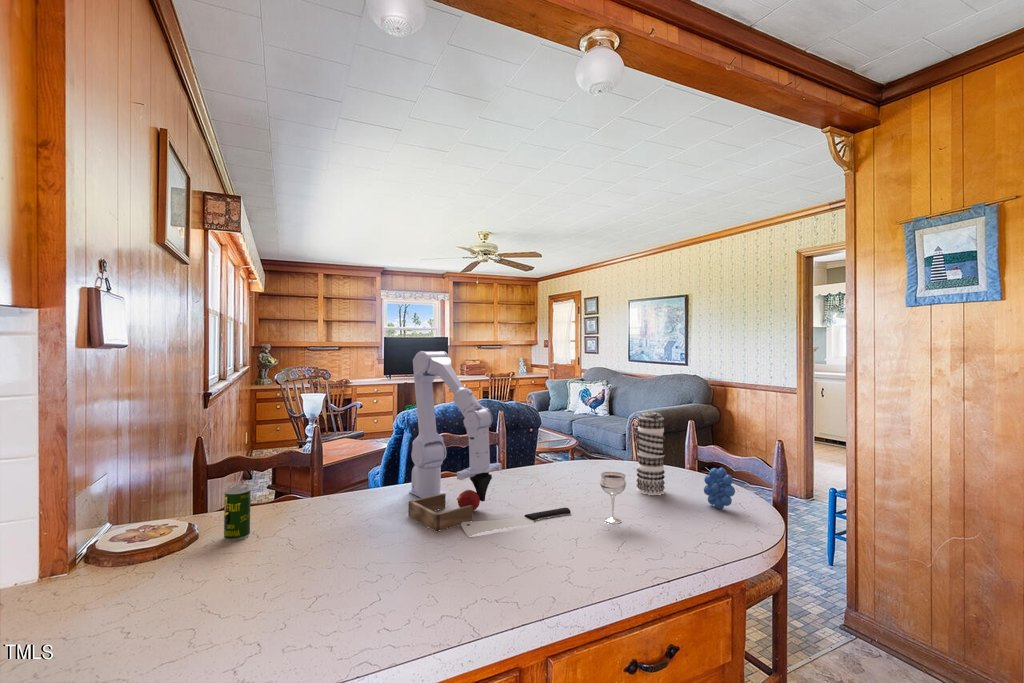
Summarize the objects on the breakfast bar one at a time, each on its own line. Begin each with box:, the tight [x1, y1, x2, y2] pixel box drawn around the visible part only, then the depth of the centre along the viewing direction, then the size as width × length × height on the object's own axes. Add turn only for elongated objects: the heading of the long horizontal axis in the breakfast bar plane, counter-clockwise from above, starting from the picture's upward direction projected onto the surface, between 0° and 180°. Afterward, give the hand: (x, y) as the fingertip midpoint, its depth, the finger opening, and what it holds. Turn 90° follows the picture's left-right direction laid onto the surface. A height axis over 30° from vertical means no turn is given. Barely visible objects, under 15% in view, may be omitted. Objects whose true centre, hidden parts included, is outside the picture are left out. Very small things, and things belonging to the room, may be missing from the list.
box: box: [407, 493, 474, 532], centre depth 125 cm, size 14×11×4 cm
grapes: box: [703, 467, 736, 510], centre depth 135 cm, size 12×7×12 cm, turn 16°
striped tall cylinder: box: [635, 411, 667, 496], centre depth 151 cm, size 9×9×25 cm
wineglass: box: [599, 471, 627, 523], centre depth 125 cm, size 7×7×12 cm
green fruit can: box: [223, 483, 252, 542], centre depth 112 cm, size 5×5×12 cm
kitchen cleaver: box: [460, 507, 572, 537], centre depth 122 cm, size 31×2×10 cm
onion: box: [456, 489, 481, 512], centre depth 130 cm, size 6×6×8 cm
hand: (481, 500), depth 132 cm, fingers closed, pressing on onion
